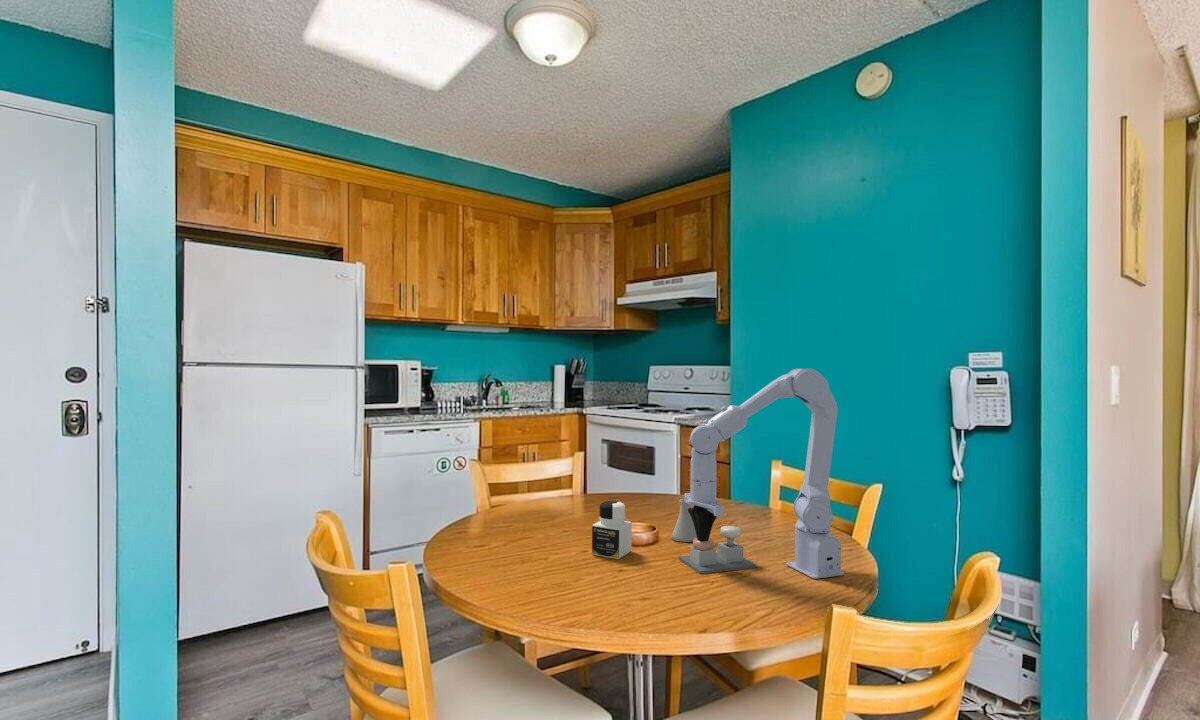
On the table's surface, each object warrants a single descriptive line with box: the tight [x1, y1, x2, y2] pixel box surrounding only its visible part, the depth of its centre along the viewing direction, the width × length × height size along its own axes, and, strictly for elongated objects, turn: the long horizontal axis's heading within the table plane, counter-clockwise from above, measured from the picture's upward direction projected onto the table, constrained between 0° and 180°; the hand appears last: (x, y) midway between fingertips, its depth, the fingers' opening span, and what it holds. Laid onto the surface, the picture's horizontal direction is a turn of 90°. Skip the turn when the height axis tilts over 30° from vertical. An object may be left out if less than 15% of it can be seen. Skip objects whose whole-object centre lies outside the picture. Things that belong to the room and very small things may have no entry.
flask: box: [670, 498, 697, 543], centre depth 152 cm, size 7×7×10 cm
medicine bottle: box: [591, 500, 633, 560], centre depth 140 cm, size 7×7×12 cm
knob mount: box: [678, 541, 757, 575], centre depth 134 cm, size 10×14×4 cm
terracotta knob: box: [692, 538, 714, 550], centre depth 133 cm, size 4×4×4 cm
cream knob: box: [720, 525, 741, 547], centre depth 135 cm, size 4×4×4 cm
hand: (702, 540), depth 133 cm, fingers closed, pressing on terracotta knob
